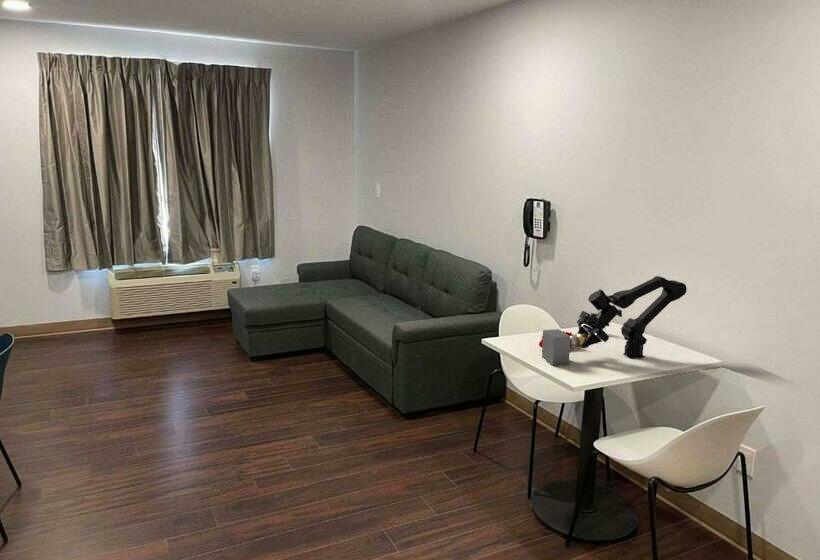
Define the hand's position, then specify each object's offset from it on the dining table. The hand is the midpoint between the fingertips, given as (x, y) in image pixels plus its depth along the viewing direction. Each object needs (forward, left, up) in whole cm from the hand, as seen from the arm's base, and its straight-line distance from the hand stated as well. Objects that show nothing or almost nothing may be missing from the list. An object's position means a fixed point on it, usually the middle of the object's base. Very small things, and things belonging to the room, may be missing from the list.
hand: (578, 344), depth 262 cm
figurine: (-3, -20, -7) cm, 21 cm away
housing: (+10, 0, -7) cm, 12 cm away
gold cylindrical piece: (+1, 0, -2) cm, 2 cm away
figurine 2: (-24, -34, -7) cm, 42 cm away
